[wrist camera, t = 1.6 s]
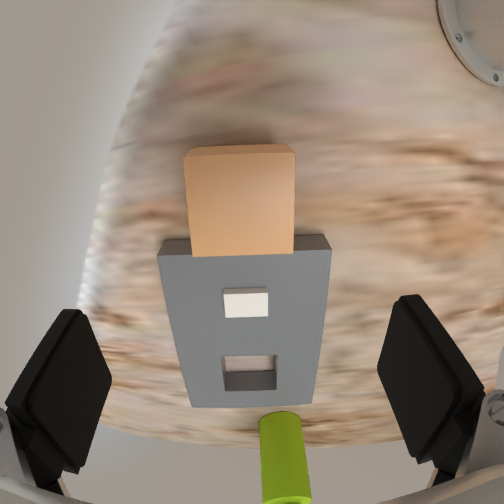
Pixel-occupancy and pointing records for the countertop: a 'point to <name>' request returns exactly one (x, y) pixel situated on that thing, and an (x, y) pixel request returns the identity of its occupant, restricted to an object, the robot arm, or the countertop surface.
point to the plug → (240, 199)
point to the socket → (247, 320)
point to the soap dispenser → (283, 460)
